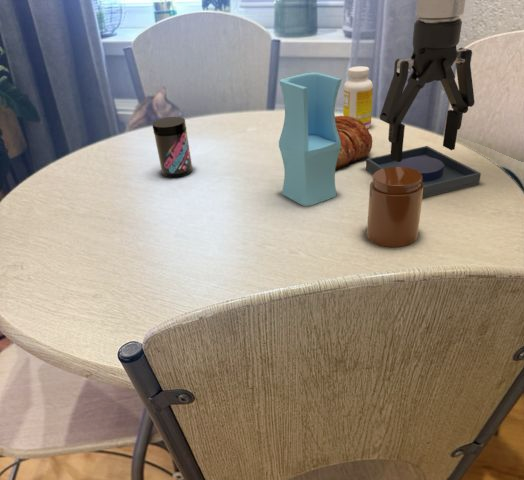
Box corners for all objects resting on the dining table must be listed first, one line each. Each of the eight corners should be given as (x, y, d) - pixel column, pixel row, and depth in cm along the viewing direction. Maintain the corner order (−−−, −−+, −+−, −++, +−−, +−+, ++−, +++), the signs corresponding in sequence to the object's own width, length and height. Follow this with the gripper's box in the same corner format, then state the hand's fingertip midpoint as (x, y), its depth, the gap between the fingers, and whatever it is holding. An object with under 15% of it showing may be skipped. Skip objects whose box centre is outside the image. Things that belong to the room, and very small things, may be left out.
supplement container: (158, 179, 112) (148, 128, 106) (165, 167, 118) (155, 117, 111) (190, 177, 112) (182, 126, 105) (195, 165, 117) (187, 115, 110)
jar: (427, 239, 84) (435, 179, 78) (382, 251, 83) (387, 190, 76) (400, 219, 90) (405, 162, 84) (358, 230, 88) (360, 172, 82)
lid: (389, 170, 106) (389, 161, 104) (426, 161, 107) (427, 153, 106) (412, 185, 99) (413, 176, 98) (451, 176, 101) (453, 167, 100)
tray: (479, 184, 99) (481, 173, 97) (412, 200, 96) (413, 189, 94) (425, 155, 111) (427, 145, 110) (365, 169, 108) (366, 159, 107)
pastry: (390, 163, 110) (393, 123, 105) (319, 175, 108) (319, 135, 102) (359, 138, 122) (361, 101, 117) (295, 148, 120) (294, 111, 115)
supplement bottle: (375, 124, 129) (378, 65, 121) (363, 132, 125) (366, 72, 117) (350, 121, 132) (351, 64, 124) (338, 129, 128) (339, 71, 120)
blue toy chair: (305, 207, 97) (302, 88, 84) (281, 193, 102) (275, 80, 89) (339, 195, 100) (342, 78, 87) (314, 182, 105) (313, 71, 92)
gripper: (483, 6, 92) (462, 136, 106) (363, 25, 87) (358, 159, 101) (513, 11, 87) (487, 147, 101) (387, 31, 81) (378, 172, 95)
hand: (422, 153), depth 101 cm, fingers open, 11 cm apart
